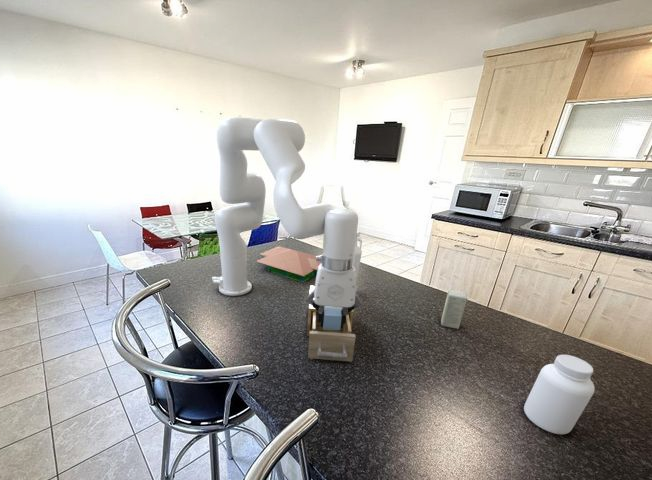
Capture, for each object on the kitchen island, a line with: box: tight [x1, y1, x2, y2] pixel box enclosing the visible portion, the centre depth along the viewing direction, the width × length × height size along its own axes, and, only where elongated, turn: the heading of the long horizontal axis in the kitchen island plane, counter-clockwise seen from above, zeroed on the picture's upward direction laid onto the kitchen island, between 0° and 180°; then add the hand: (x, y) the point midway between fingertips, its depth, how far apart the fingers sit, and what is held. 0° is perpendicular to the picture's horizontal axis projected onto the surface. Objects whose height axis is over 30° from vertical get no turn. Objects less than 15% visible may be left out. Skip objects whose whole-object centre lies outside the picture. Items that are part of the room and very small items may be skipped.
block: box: [323, 307, 342, 331], centre depth 78 cm, size 4×4×4 cm
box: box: [440, 289, 468, 330], centre depth 92 cm, size 5×4×11 cm
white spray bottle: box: [353, 230, 363, 291], centre depth 105 cm, size 7×12×25 cm, turn 131°
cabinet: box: [306, 285, 355, 337], centre depth 91 cm, size 15×13×10 cm
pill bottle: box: [523, 354, 595, 435], centre depth 59 cm, size 8×8×15 cm
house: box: [255, 245, 321, 283], centre depth 133 cm, size 23×33×8 cm
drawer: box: [307, 311, 357, 363], centre depth 79 cm, size 18×11×8 cm, turn 174°
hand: (331, 324), depth 79 cm, fingers closed on block, 4 cm apart
